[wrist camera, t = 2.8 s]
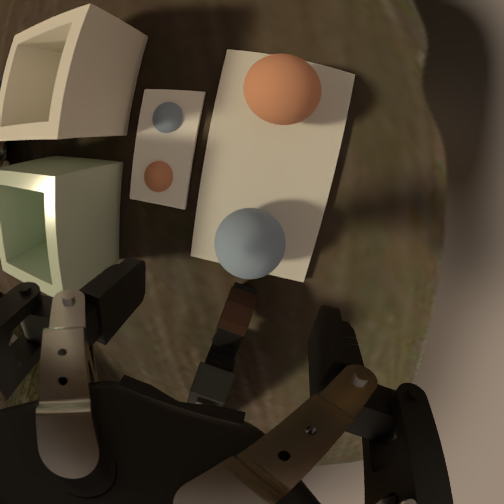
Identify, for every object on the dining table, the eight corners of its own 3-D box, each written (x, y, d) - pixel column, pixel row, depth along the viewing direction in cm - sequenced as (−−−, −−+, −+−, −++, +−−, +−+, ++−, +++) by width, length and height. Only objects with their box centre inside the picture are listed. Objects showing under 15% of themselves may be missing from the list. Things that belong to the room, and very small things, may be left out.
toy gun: (211, 342, 34) (181, 422, 27) (235, 270, 20) (177, 420, 13) (228, 349, 34) (200, 429, 27) (265, 282, 20) (216, 434, 13)
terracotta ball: (256, 61, 15) (246, 37, 11) (322, 74, 15) (332, 53, 11) (243, 120, 17) (229, 112, 13) (309, 134, 17) (317, 130, 13)
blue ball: (228, 195, 19) (211, 210, 15) (292, 209, 19) (293, 228, 15) (218, 254, 21) (201, 282, 17) (277, 268, 21) (274, 299, 17)
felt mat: (228, 51, 16) (227, 49, 15) (353, 76, 15) (355, 74, 15) (193, 252, 22) (190, 255, 21) (303, 278, 22) (303, 282, 21)
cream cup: (74, 49, 16) (14, 35, 8) (148, 36, 16) (90, 3, 8) (57, 133, 19) (-7, 141, 12) (126, 135, 19) (57, 139, 12)
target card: (146, 89, 17) (143, 88, 17) (205, 92, 17) (204, 91, 17) (131, 198, 21) (128, 199, 20) (186, 208, 21) (183, 210, 20)
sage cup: (55, 155, 20) (-8, 169, 13) (123, 162, 20) (55, 176, 12) (56, 239, 23) (2, 270, 16) (119, 259, 23) (65, 303, 16)
